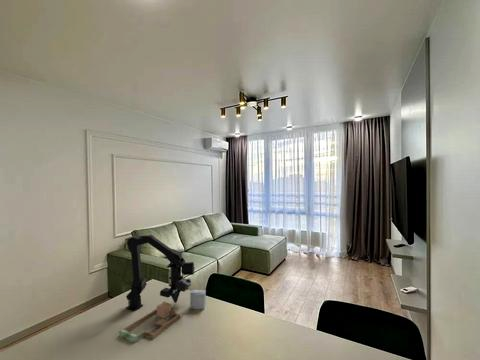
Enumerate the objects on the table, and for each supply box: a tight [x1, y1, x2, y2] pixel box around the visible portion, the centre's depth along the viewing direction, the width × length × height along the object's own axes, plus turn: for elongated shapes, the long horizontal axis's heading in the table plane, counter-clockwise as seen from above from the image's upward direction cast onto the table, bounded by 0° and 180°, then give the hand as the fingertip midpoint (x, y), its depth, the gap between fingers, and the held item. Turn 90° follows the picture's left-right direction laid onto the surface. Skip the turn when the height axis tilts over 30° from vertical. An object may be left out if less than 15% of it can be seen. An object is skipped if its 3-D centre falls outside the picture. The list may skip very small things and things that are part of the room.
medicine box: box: [189, 289, 207, 310], centre depth 128 cm, size 8×4×9 cm, turn 84°
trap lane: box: [118, 308, 182, 344], centre depth 111 cm, size 16×25×2 cm, turn 154°
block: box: [156, 301, 172, 319], centre depth 120 cm, size 5×5×5 cm
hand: (175, 302), depth 128 cm, fingers closed
